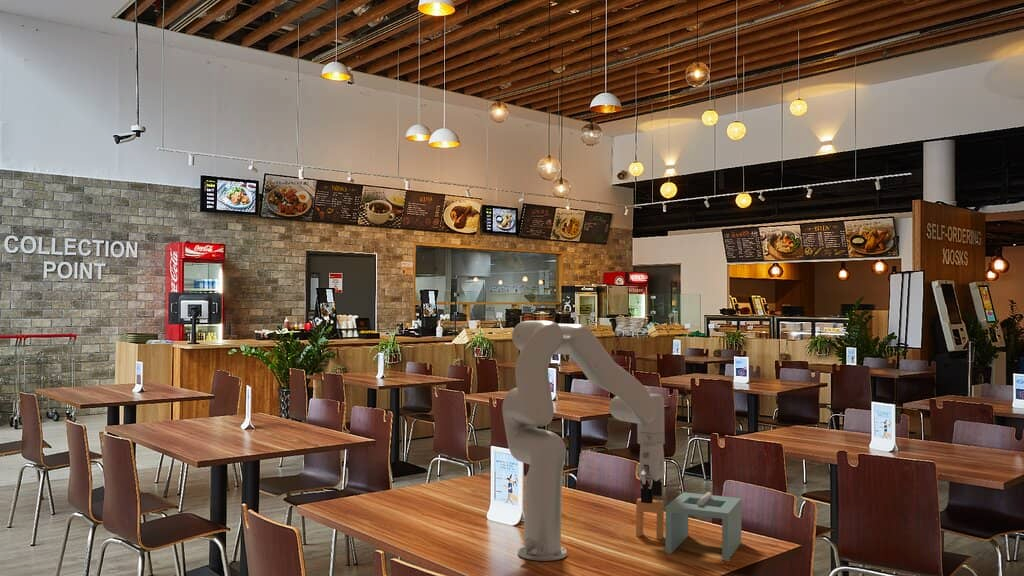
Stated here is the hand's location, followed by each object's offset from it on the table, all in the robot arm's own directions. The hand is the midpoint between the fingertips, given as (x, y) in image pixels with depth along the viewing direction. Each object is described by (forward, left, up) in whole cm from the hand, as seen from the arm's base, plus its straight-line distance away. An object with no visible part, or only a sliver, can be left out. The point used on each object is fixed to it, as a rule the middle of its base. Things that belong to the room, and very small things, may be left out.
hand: (651, 499), depth 225 cm
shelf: (-4, -16, -10) cm, 19 cm away
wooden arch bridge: (0, 0, -10) cm, 10 cm away
